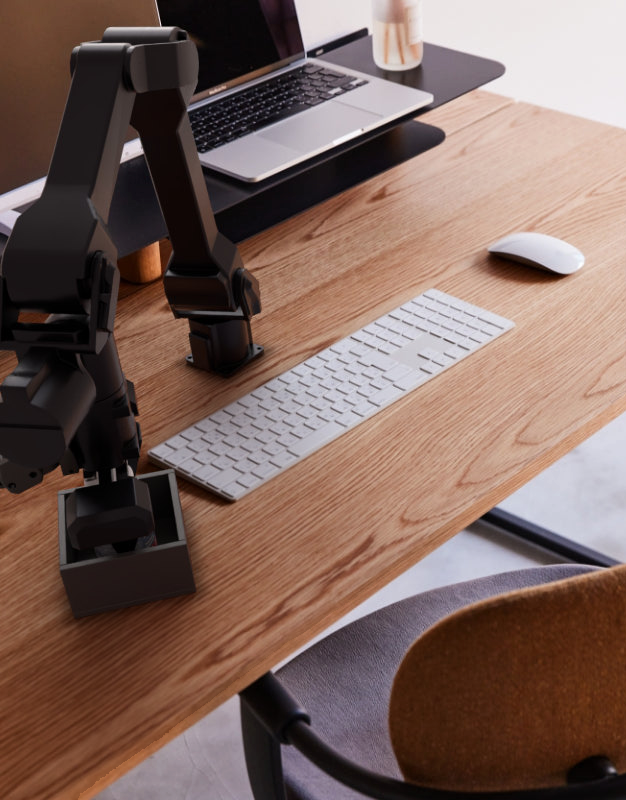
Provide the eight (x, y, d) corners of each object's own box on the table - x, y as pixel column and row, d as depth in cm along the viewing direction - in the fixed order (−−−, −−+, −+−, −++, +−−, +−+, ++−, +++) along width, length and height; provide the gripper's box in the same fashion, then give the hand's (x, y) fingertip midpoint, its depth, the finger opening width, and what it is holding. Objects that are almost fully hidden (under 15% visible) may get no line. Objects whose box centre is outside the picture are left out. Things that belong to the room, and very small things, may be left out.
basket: (70, 538, 97) (57, 491, 93) (183, 514, 98) (173, 468, 95) (74, 619, 89) (59, 570, 85) (196, 592, 90) (186, 544, 87)
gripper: (-17, 340, 88) (28, 483, 97) (-27, 480, 73) (27, 634, 83) (119, 316, 90) (150, 459, 99) (136, 449, 75) (171, 602, 85)
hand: (124, 532), depth 91 cm, fingers closed on pill bottle, 5 cm apart
